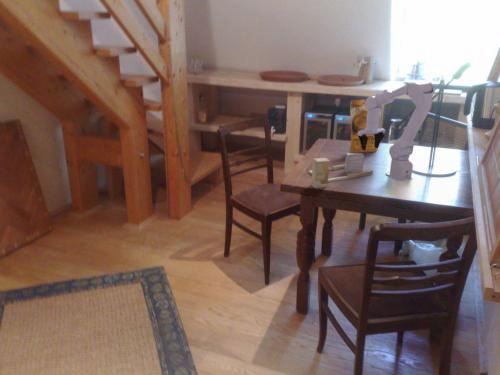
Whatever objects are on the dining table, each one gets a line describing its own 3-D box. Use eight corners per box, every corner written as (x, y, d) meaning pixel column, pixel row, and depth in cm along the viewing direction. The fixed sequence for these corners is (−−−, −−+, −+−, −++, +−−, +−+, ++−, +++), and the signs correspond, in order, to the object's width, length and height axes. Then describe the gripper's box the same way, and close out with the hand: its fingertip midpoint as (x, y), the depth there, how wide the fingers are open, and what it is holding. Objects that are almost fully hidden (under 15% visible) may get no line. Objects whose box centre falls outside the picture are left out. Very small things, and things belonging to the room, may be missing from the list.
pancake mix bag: (343, 149, 242) (348, 99, 231) (376, 148, 245) (382, 98, 234) (348, 153, 236) (352, 101, 225) (381, 151, 239) (387, 100, 228)
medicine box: (361, 170, 211) (362, 153, 208) (362, 173, 207) (364, 155, 204) (344, 169, 212) (346, 152, 209) (345, 172, 208) (347, 155, 204)
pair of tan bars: (372, 174, 206) (372, 171, 205) (347, 178, 201) (348, 175, 200) (355, 165, 217) (355, 162, 217) (331, 169, 212) (331, 166, 212)
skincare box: (314, 188, 189) (316, 161, 185) (310, 184, 193) (312, 158, 189) (328, 187, 191) (330, 160, 186) (324, 183, 195) (325, 157, 190)
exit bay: (347, 178, 200) (347, 176, 200) (324, 182, 196) (325, 180, 195) (330, 169, 212) (330, 167, 212) (308, 172, 208) (308, 170, 207)
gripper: (379, 118, 215) (376, 144, 220) (355, 120, 210) (352, 148, 215) (389, 121, 209) (385, 148, 214) (364, 124, 204) (361, 152, 209)
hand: (369, 148), depth 214 cm, fingers open, 7 cm apart
